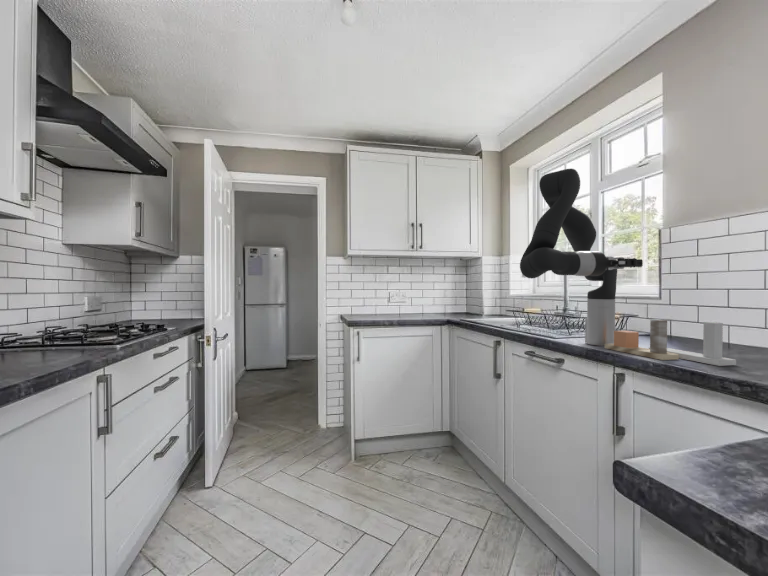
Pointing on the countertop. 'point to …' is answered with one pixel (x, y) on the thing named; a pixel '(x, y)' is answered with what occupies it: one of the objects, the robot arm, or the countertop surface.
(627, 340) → the terracotta cube
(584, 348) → the countertop surface
